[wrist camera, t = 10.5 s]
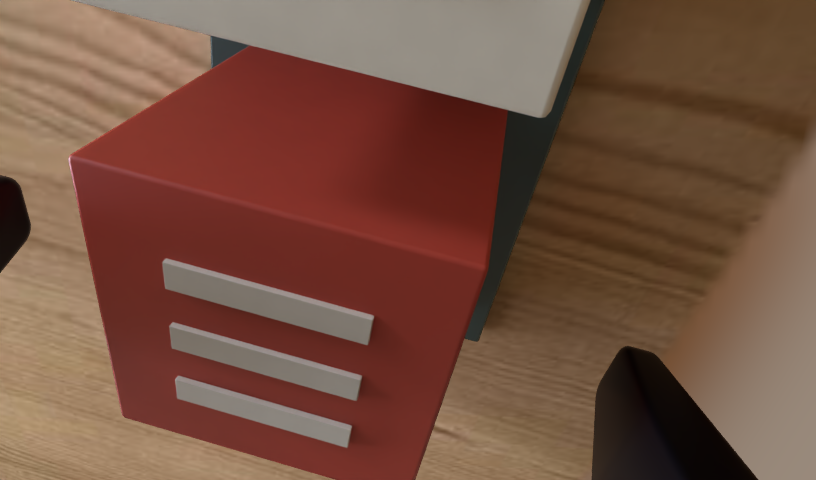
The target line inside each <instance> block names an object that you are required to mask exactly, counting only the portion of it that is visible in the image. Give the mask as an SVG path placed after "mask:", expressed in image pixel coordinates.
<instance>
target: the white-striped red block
mask: <svg viewBox="0 0 816 480" xmlns="http://www.w3.org/2000/svg"><path fill="white" fill-rule="evenodd" d="M507 114H508V110H506V109H502V108H498V107H494V106H490V105H486V104H482V103H478V102H474V101H470V100H466V99H462V98H458V97H454V96H450V95H446V94H442V93H438V92H434V91H430V90H426V89H422V88H418V87H414V86H410V85H406V84H402V83H398V82H394V81H390V80H386V79H382V78H378V77H374V76H370V75H366V74H362V73H358V72H354V71H350V70H346V69H342V68H338V67H334V66H330V65H326V64H322V63H318V62H314V61H311V60H307V59H303V58H299V57H295V56H291V55H287V54H283V53H279V52H275V51H271V50H267V49H263V48H259V47H255V46H251V45H250V46H248V47H247V48H245V49H243V50H242V51H240V52H238V53H237V54H235V55H233V56H232V57H230V58H228V59H227V60H225V61H224V62H222V63H220V64H219V65H217V66H215V67H214V68H212V69H210V70H209V71H207V72H205V73H204V74H202V75H201V76H199V77H197V78H196V79H194V80H192V81H191V82H189V83H187V84H186V85H184V86H182V87H181V88H179V89H178V90H176V91H174V92H173V93H171V94H169V95H168V96H166V97H164V98H163V99H161V100H159V101H158V102H156V103H155V104H153V105H151V106H150V107H148V108H146V109H145V110H143V111H141V112H140V113H138V114H136V115H135V116H133V117H132V118H130V119H128V120H127V121H125V122H123V123H122V124H120V125H118V126H117V127H115V128H113V129H112V130H110V131H109V132H107V133H105V134H104V135H102V136H100V137H99V138H97V139H95V140H94V141H92V142H90V143H89V144H87V145H86V146H84V147H82V148H81V149H79V150H77V151H76V152H74V153H72V154H71V155H70V156H69V165H70V170H71V174H72V179H73V184H74V189H75V193H76V198H77V203H78V208H79V212H80V217H81V222H82V227H83V231H84V236H85V241H86V246H87V250H88V255H89V260H90V265H91V269H92V274H93V279H94V284H95V288H96V293H97V298H98V303H99V307H100V312H101V317H102V322H103V327H104V331H105V336H106V341H107V346H108V350H109V355H110V360H111V365H112V369H113V374H114V379H115V384H116V388H117V393H118V398H119V403H120V407H121V412H122V415H123V416H124V417H125V418H128V419H132V420H135V421H138V422H142V423H145V424H149V425H152V426H155V427H159V428H162V429H166V430H169V431H172V432H176V433H179V434H183V435H186V436H189V437H193V438H196V439H200V440H203V441H206V442H210V443H213V444H217V445H220V446H223V447H227V448H230V449H234V450H237V451H240V452H244V453H247V454H251V455H254V456H257V457H261V458H264V459H268V460H271V461H274V462H278V463H281V464H285V465H288V466H291V467H295V468H298V469H301V470H305V471H308V472H312V473H315V474H318V475H322V476H325V477H329V478H332V479H335V480H415V479H416V476H417V473H418V470H419V467H420V465H421V462H422V459H423V456H424V453H425V450H426V447H427V444H428V442H429V439H430V436H431V433H432V430H433V427H434V424H435V421H436V419H437V416H438V413H439V410H440V407H441V404H442V401H443V398H444V396H445V393H446V390H447V387H448V384H449V381H450V378H451V375H452V373H453V370H454V367H455V364H456V361H457V358H458V355H459V352H460V350H461V347H462V344H463V341H464V338H465V335H466V332H467V329H468V327H469V324H470V321H471V318H472V315H473V312H474V309H475V307H476V304H477V301H478V298H479V295H480V292H481V289H482V286H483V284H484V281H485V278H486V275H487V272H488V268H489V260H490V251H491V243H492V235H493V227H494V219H495V211H496V203H497V195H498V187H499V179H500V171H501V162H502V154H503V146H504V138H505V130H506V122H507Z"/></svg>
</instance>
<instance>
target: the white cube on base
mask: <svg viewBox="0 0 816 480" xmlns="http://www.w3.org/2000/svg"><path fill="white" fill-rule="evenodd" d="M72 1H75V2H79V3H83V4H87V5H91V6H95V7H99V8H103V9H107V10H111V11H115V12H119V13H123V14H127V15H131V16H135V17H139V18H143V19H147V20H151V21H155V22H159V23H163V24H167V25H171V26H175V27H179V28H183V29H187V30H191V31H195V32H199V33H203V34H207V35H211V65H212V68H214V67H215V66H217V65H219V64H220V63H222V62H224V61H225V60H227V59H228V58H230V57H232V56H233V55H235V54H237V53H238V52H240V51H242V50H243V49H245V48H247V47H248V46H250V45H251V46H255V47H259V48H263V49H267V50H271V51H275V52H279V53H283V54H287V55H291V56H295V57H299V58H303V59H307V60H311V61H314V62H318V63H322V64H326V65H330V66H334V67H338V68H342V69H346V70H350V71H354V72H358V73H362V74H366V75H370V76H374V77H378V78H382V79H386V80H390V81H394V82H398V83H402V84H406V85H410V86H414V87H418V88H422V89H426V90H430V91H434V92H438V93H442V94H446V95H450V96H454V97H458V98H462V99H466V100H470V101H474V102H478V103H482V104H486V105H490V106H494V107H498V108H502V109H506V110H508V114H507V122H506V130H505V138H504V146H503V154H502V162H501V171H500V179H499V187H498V195H497V203H496V211H495V219H494V227H493V235H492V243H491V251H490V260H489V268H488V272H487V275H486V278H485V281H484V284H483V286H482V289H481V292H480V295H479V298H478V301H477V304H476V307H475V309H474V312H473V315H472V318H471V321H470V324H469V327H468V329H467V332H466V335H465V339H468V340H472V341H476V342H477V341H478V340H479V338H480V335H481V333H482V330H483V327H484V325H485V322H486V319H487V316H488V314H489V311H490V308H491V306H492V303H493V300H494V298H495V295H496V292H497V290H498V287H499V284H500V281H501V279H502V276H503V273H504V271H505V268H506V265H507V263H508V260H509V257H510V255H511V252H512V249H513V246H514V244H515V241H516V238H517V236H518V233H519V230H520V228H521V225H522V222H523V220H524V217H525V214H526V211H527V209H528V206H529V203H530V201H531V198H532V195H533V193H534V190H535V187H536V185H537V182H538V179H539V176H540V174H541V171H542V168H543V166H544V163H545V160H546V158H547V155H548V152H549V150H550V147H551V144H552V141H553V139H554V136H555V133H556V131H557V128H558V125H559V123H560V120H561V117H562V115H563V112H564V109H565V106H566V104H567V101H568V98H569V96H570V93H571V90H572V88H573V85H574V82H575V80H576V77H577V74H578V71H579V69H580V66H581V63H582V61H583V58H584V55H585V53H586V50H587V47H588V45H589V42H590V39H591V36H592V34H593V31H594V28H595V26H596V23H597V20H598V18H599V15H600V12H601V10H602V7H603V4H604V1H605V0H72Z"/></svg>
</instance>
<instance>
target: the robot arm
mask: <svg viewBox="0 0 816 480" xmlns="http://www.w3.org/2000/svg"><path fill="white" fill-rule="evenodd" d="M30 230H31V223H30V219H29V216H28V212H27V208H26V205H25V201H24V198H23V194H22V190H21V188H20V185H19V184H18V183H17V182H16V181H15V180H14V179H12V178H9V177H6V176H2V175H0V273H1V271H2V270H3V269H4V268H5V266H6V265H7V264H8V263H9V262H10V260H11V259H12V258H13V257H14V255H15V254H16V253H17V252H18V250H19V249H20V248H21V247H22V245H23V244H24V243H25V242H26V240H27V239H28V237H29V234H30ZM592 480H758V479H757V478H756V476H755V475H754V474H753V473H752V471H751V470H750V469H749V468H748V467H747V465H746V464H745V463H744V462H743V460H742V459H741V458H740V457H739V456H738V454H737V453H736V452H735V451H734V449H733V448H732V447H731V446H730V445H729V443H728V442H727V441H726V440H725V438H724V437H723V436H722V435H721V433H720V432H719V431H718V430H717V429H716V427H715V426H714V425H713V424H712V422H711V421H710V420H709V419H708V418H707V416H706V415H705V414H704V413H703V411H702V410H701V409H700V408H699V407H698V405H697V404H696V403H695V402H694V400H693V399H692V398H691V397H690V396H689V394H688V393H687V392H686V391H685V389H684V388H683V387H682V386H681V385H680V383H679V382H678V381H677V380H676V378H675V377H674V376H673V375H672V374H671V372H670V371H669V370H668V369H667V367H666V366H665V365H664V364H663V362H662V361H661V360H660V359H659V358H658V357H657V356H656V355H655V354H654V353H652V352H649V351H645V350H642V349H638V348H634V347H631V346H625V347H623V348H621V349H620V350H619V352H618V353H617V355H616V356H615V358H614V360H613V361H612V363H611V365H610V366H609V368H608V370H607V371H606V373H605V375H604V376H603V378H602V380H601V381H600V383H599V386H598V389H597V393H596V400H595V421H594V441H593V462H592Z"/></svg>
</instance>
